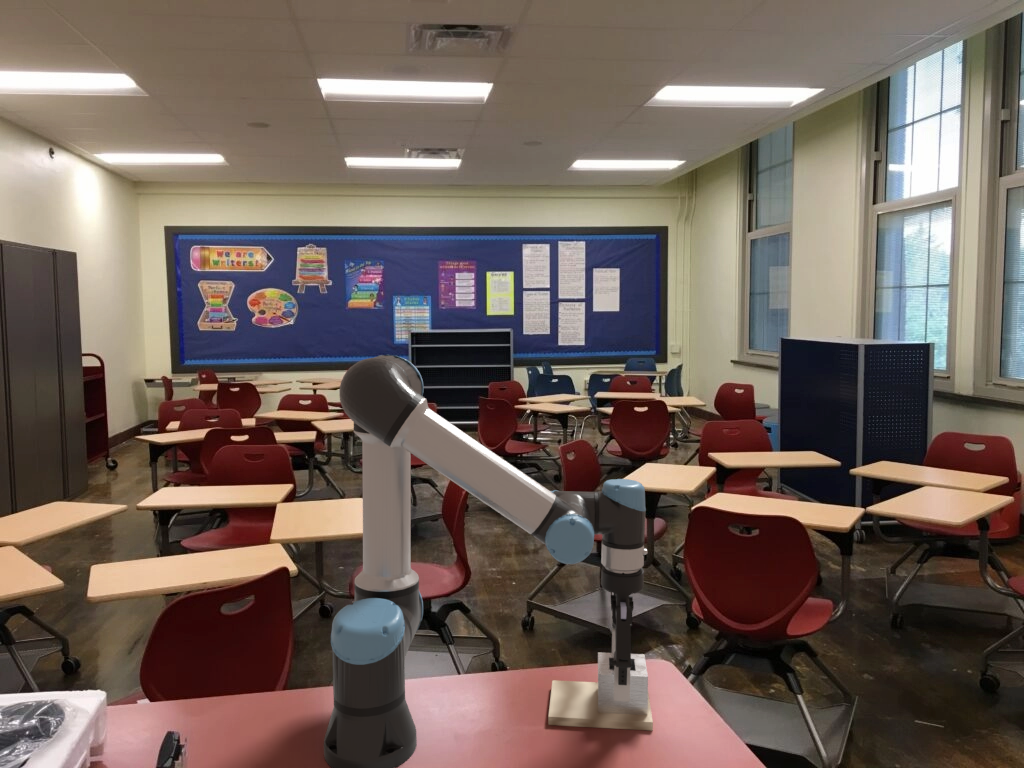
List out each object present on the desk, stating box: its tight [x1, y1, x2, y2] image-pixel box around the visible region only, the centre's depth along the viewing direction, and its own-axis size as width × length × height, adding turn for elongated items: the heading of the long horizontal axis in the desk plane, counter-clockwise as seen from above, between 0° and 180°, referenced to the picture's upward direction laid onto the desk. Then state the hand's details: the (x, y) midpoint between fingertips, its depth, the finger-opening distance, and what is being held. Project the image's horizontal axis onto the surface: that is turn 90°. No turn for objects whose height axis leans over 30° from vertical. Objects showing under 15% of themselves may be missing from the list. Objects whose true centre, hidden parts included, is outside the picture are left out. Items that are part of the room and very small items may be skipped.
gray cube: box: [597, 651, 649, 715], centre depth 131 cm, size 9×9×7 cm
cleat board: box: [547, 652, 654, 731], centre depth 131 cm, size 18×13×12 cm
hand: (620, 681), depth 131 cm, fingers open, 13 cm apart
